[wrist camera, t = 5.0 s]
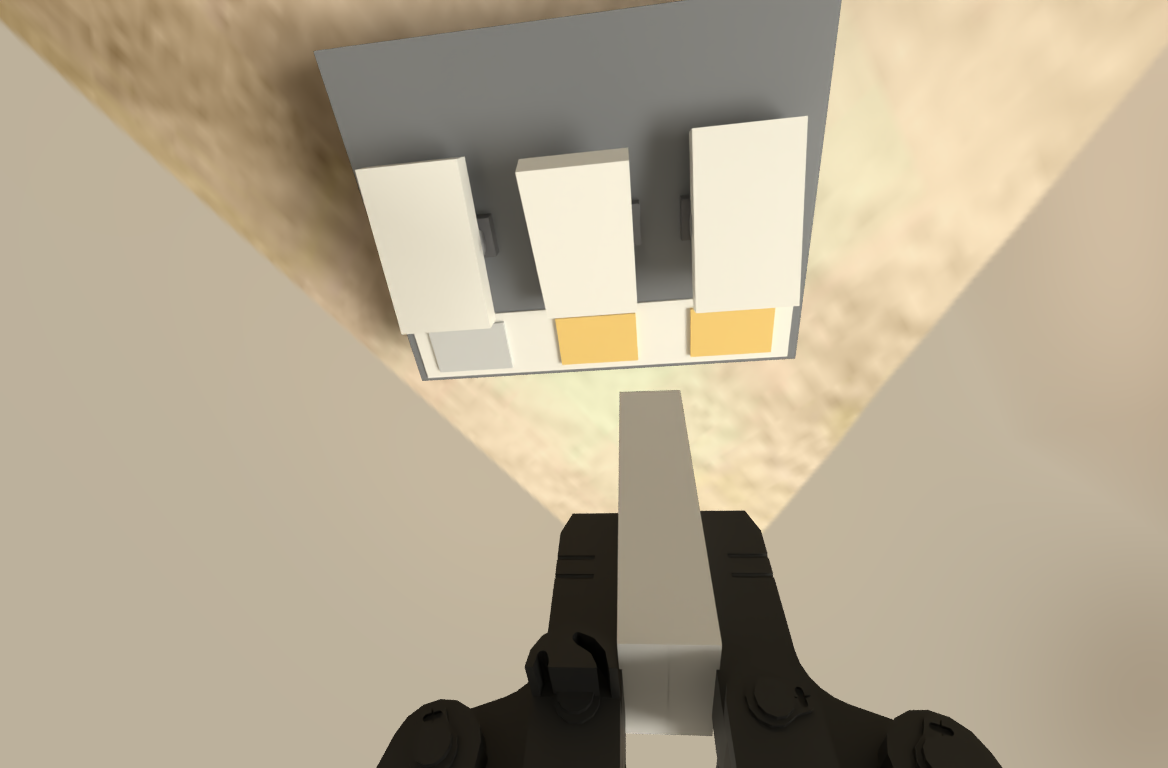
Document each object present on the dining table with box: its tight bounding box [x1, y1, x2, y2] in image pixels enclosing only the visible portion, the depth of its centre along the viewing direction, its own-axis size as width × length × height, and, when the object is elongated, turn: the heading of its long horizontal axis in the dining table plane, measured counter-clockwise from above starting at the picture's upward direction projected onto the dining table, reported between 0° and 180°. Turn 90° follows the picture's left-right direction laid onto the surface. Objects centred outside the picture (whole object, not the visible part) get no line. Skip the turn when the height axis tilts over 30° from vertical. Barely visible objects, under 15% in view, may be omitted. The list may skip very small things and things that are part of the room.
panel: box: [314, 0, 842, 381], centre depth 23 cm, size 14×18×5 cm
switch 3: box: [689, 116, 808, 313], centre depth 19 cm, size 6×4×2 cm, turn 6°
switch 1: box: [355, 156, 496, 335], centre depth 21 cm, size 6×4×2 cm, turn 6°
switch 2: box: [515, 147, 638, 319], centre depth 20 cm, size 6×4×2 cm, turn 7°
